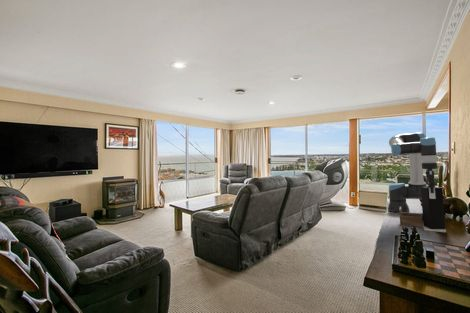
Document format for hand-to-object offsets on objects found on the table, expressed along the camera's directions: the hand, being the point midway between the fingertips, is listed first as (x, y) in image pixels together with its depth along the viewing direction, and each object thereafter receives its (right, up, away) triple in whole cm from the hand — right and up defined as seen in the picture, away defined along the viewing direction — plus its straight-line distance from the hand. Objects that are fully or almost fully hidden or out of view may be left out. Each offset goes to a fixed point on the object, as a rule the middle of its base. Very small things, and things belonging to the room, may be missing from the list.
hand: (431, 196), depth 147 cm
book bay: (-2, -20, +13) cm, 25 cm away
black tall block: (+1, -19, -1) cm, 19 cm away
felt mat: (+1, -20, -1) cm, 20 cm away
